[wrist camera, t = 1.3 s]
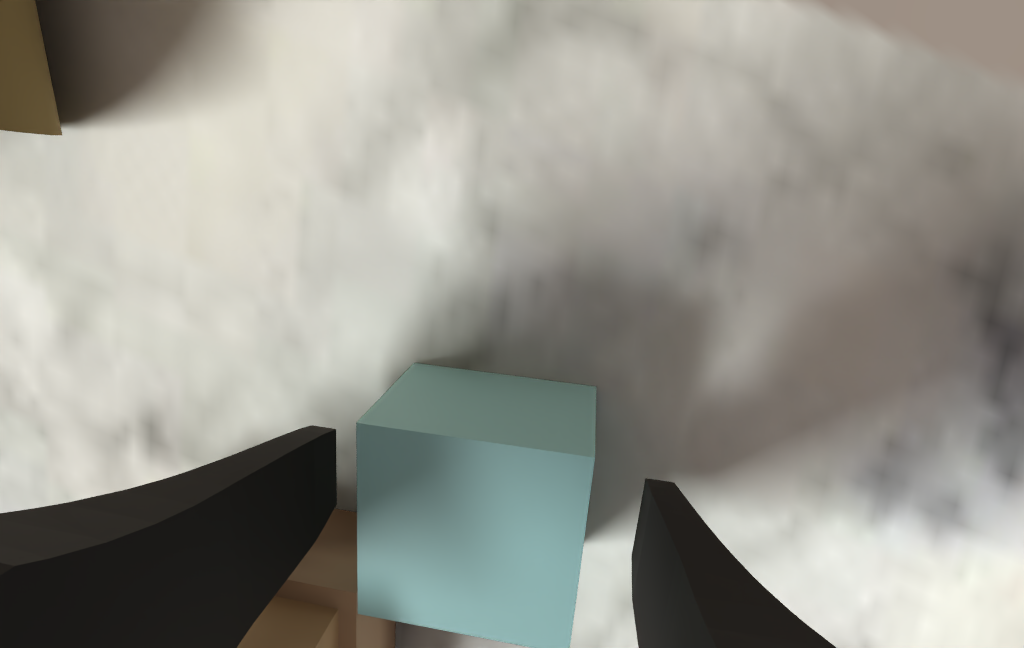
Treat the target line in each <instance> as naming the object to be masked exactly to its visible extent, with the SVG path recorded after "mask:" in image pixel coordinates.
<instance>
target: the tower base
mask: <svg viewBox="0 0 1024 648" xmlns="http://www.w3.org/2000/svg"><path fill="white" fill-rule="evenodd" d="M275 596H277V597H282V598H287V599H291V600H296V601H301V602H306V603H311V604H316V605H321V606H326V607H331V608H335V609H338V640H339V648H395V630H396V621H392V620H387V619H382V618H376V617H371V616H366V615H361V614H358V585H357V512H352V511H346V510H340V509H335V508H334V510H333V512H332V514H331V515H330V517H329V519H328V521H327V523H326V525H325V526H324V528H323V530H322V532H321V533H320V535H319V537H318V538H317V540H316V542H315V543H314V544H313V546H312V547H311V548H310V550H309V551H308V552H307V554H306V555H305V556H304V558H303V559H302V560H301V562H300V563H299V564H298V566H297V567H296V568H295V570H294V571H293V572H292V574H291V575H290V576H289V578H288V579H287V580H286V582H285V583H284V584H283V585H282V587H281V588H280V589H279V591H278V592H277V593H276V595H275Z"/></svg>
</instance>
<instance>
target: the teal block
mask: <svg viewBox="0 0 1024 648" xmlns="http://www.w3.org/2000/svg"><path fill="white" fill-rule="evenodd" d="M595 437H596V386H588V385H580V384H573V383H565V382H558V381H550V380H542V379H535V378H527V377H519V376H512V375H504V374H496V373H489V372H481V371H473V370H466V369H458V368H451V367H443V366H435V365H428V364H420V363H414V364H413V365H412V366H411V367H410V368H409V369H408V370H407V371H406V372H405V373H404V374H403V375H402V376H401V377H400V378H399V379H398V380H397V381H396V382H395V383H394V384H393V385H392V386H391V387H390V388H389V389H388V391H387V392H386V393H385V394H384V395H383V396H382V397H381V398H380V399H379V400H378V401H377V402H376V403H375V404H374V405H373V406H372V407H371V408H370V409H369V410H368V411H367V412H366V413H365V414H364V415H363V416H362V417H361V419H360V420H359V421H358V422H357V423H356V438H357V585H358V614H361V615H366V616H371V617H376V618H382V619H387V620H392V621H397V622H402V623H407V624H413V625H418V626H423V627H428V628H433V629H438V630H444V631H449V632H454V633H459V634H464V635H470V636H475V637H480V638H485V639H490V640H495V641H501V642H506V643H511V644H516V645H521V646H526V647H532V648H570V641H571V634H572V626H573V619H574V611H575V604H576V597H577V589H578V582H579V574H580V567H581V559H582V552H583V544H584V537H585V529H586V522H587V515H588V507H589V500H590V492H591V485H592V477H593V470H594V462H595Z"/></svg>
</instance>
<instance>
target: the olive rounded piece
mask: <svg viewBox="0 0 1024 648" xmlns="http://www.w3.org/2000/svg"><path fill="white" fill-rule="evenodd" d="M0 130H6V131H14V132H24V133H34V134H45V135H62V132H61V127H60V122H59V117H58V112H57V107H56V102H55V97H54V92H53V87H52V82H51V77H50V72H49V67H48V62H47V57H46V52H45V47H44V42H43V37H42V32H41V27H40V22H39V17H38V12H37V7H36V2H35V0H0Z"/></svg>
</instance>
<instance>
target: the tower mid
mask: <svg viewBox="0 0 1024 648" xmlns="http://www.w3.org/2000/svg"><path fill="white" fill-rule="evenodd" d="M237 648H339V640H338V609H335V608H331V607H326V606H321V605H316V604H311V603H306V602H301V601H296V600H291V599H287V598H282V597H277V596H274V597H273V599H272V600H271V601H270V602H269V604H268V605H267V606H266V608H265V609H264V610H263V612H262V613H261V614H260V616H259V617H258V618H257V619H256V621H255V622H254V623H253V625H252V626H251V628H250V629H249V631H248V632H247V633H246V635H245V636H244V638H243V639H242V641H241V642H240V644H239V645H238V647H237Z"/></svg>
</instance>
